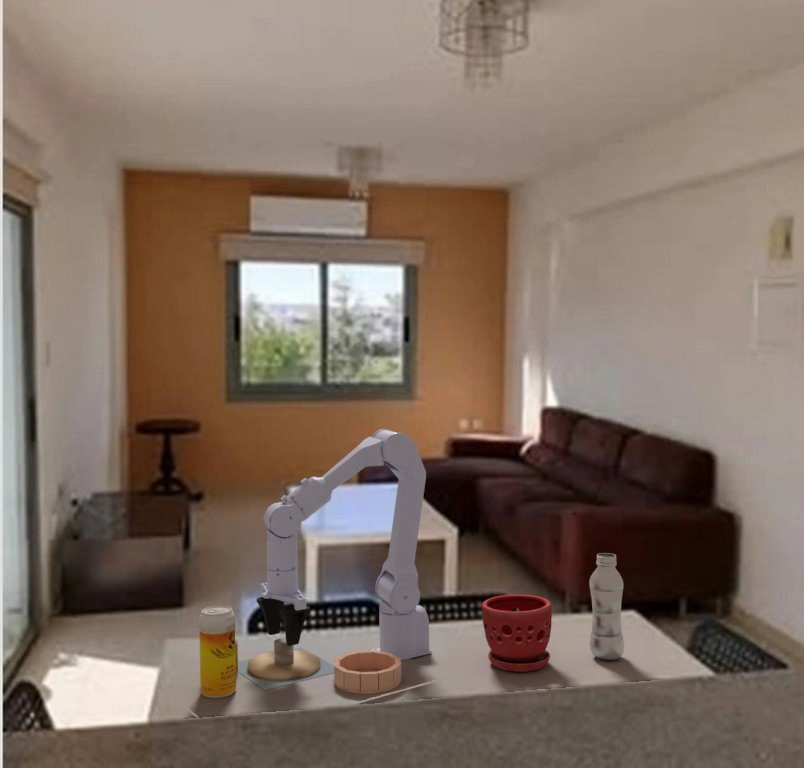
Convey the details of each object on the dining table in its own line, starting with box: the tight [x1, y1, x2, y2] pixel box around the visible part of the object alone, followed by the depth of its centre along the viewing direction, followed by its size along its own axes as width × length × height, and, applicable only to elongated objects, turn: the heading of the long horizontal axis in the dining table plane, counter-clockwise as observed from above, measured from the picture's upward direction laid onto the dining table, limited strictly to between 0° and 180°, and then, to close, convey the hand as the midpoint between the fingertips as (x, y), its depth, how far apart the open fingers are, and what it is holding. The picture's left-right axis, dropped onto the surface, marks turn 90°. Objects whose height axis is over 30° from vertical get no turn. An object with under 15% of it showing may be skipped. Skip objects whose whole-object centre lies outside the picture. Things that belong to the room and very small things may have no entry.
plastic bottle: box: [588, 552, 625, 661], centre depth 175 cm, size 6×7×20 cm
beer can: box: [198, 605, 237, 699], centre depth 159 cm, size 6×6×15 cm
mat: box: [238, 647, 334, 691], centre depth 171 cm, size 16×16×1 cm
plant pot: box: [481, 594, 553, 672], centre depth 172 cm, size 13×13×12 cm
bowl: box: [333, 650, 402, 694], centre depth 164 cm, size 12×12×4 cm
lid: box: [248, 637, 321, 681], centre depth 171 cm, size 14×14×5 cm
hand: (283, 639), depth 170 cm, fingers open, 7 cm apart
